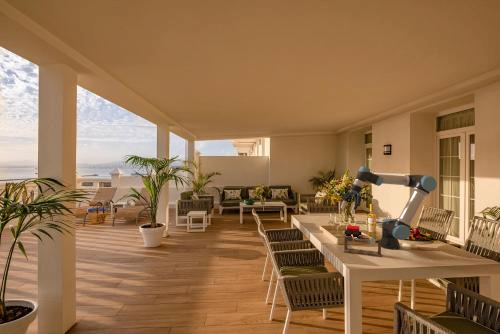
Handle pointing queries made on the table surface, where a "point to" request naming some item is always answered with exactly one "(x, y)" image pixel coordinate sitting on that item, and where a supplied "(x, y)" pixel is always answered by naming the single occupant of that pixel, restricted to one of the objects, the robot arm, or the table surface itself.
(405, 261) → the table surface
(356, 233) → the red-and-black block model
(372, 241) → the cream t-shaped block
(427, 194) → the robot arm
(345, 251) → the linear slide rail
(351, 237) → the rod
